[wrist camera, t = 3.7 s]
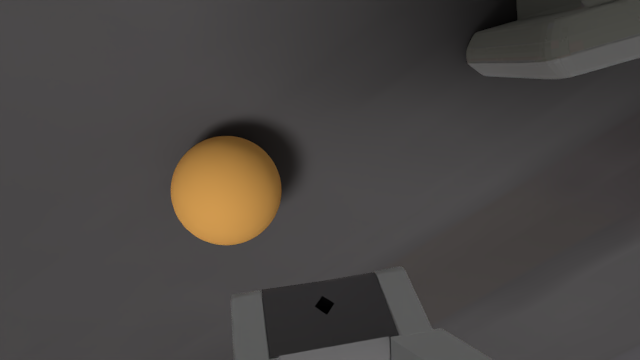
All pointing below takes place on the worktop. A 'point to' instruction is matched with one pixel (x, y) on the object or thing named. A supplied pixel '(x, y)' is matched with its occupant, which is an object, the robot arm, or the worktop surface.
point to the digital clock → (558, 39)
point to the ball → (226, 190)
